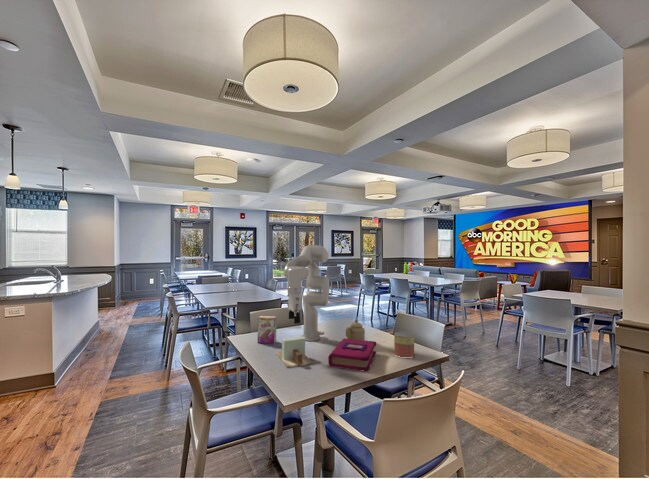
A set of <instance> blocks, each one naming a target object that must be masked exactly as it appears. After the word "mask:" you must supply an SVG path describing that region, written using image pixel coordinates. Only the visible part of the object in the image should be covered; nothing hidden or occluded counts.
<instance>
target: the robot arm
mask: <svg viewBox="0 0 649 479" xmlns="http://www.w3.org/2000/svg"><path fill="white" fill-rule="evenodd" d="M328 259H329V252H328V250H327V249H326V248H325V247H324V246H322V245H318V244H316V245H315V244H314V245H313V244H312V245H311V244H310V245H306V246H304V247H303V248H302V251H301V252H300V254H299V255H298V256H297V257H294V258H292V259H291V260H289V261H288V262H287V263H286V265H285V267H284V269H283V276H284V278H285V279H286V280H287V294H288V300H287V301H288V304H287V305H288V320H293V323H294V324H295V325H296V324H297V325H298V324H301V312H302V311H303V334H302V335H301V336H300V337H304V338H305V342H314V341H318V340H320V338H321V337H320V336H324V335H325V331H319V330H318V327H319V326H318V325H319V324H318V322H319V321H318V318H319V317H318V316H319V315H318V314H319V313H318V309H317V308H316V307H327V305H329V295H330V279H329V277H328V276H326V275H320V270H321V269H320V267H319V266H318V264H317V263H327V262H328ZM303 280H306V284H305V285H306V288H307V289H308V290H309V291H308V290H307V291H305V292H304V293H303V294H302V281H303ZM317 290H318V291H317ZM301 294H302V296H301ZM302 304H303V310H302Z"/></svg>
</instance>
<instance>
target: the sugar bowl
mask: <svg viewBox="0 0 649 479" xmlns="http://www.w3.org/2000/svg"><path fill="white" fill-rule="evenodd" d="M358 320H359V319H357V318H355V319H354V322H352V323H351V324H349V327H347V328H346V330H345V337H346V339H354V340H364V341H365V336H366V332H365V330H366V329H365V327H363V326H364V325H363V324H361V323H359V322H358Z"/></svg>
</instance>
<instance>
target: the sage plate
mask: <svg viewBox="0 0 649 479" xmlns="http://www.w3.org/2000/svg"><path fill="white" fill-rule="evenodd" d="M297 349H298V350H299V351H300V352H301V353H302V354H303V356H302V357H305V355H306V341H305V338H304V337H301V336H296V337H288V338H281V351H282V358H283V359H284V360H286V359H293V350H297Z"/></svg>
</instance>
